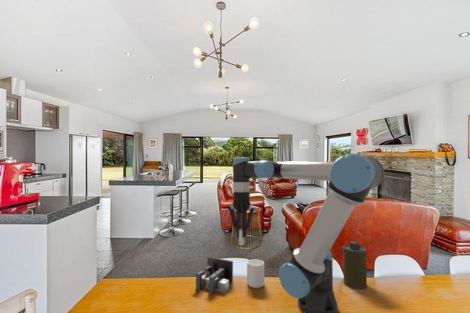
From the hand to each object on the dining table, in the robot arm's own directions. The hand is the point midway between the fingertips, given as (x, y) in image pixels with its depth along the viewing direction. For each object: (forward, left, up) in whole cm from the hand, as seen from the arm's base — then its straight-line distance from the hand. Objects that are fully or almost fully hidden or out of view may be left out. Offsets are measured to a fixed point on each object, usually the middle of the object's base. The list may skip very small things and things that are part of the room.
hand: (241, 244), depth 107 cm
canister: (-45, -33, -22) cm, 60 cm away
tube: (+14, 0, -22) cm, 26 cm away
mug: (-1, -13, -22) cm, 25 cm away
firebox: (+16, -1, -22) cm, 27 cm away
